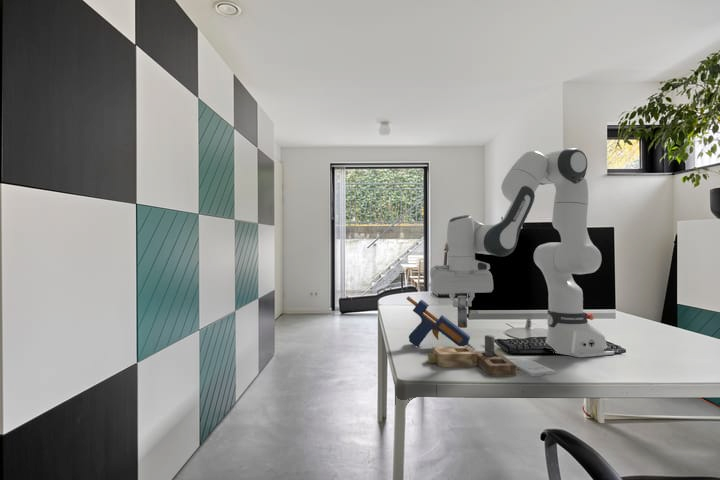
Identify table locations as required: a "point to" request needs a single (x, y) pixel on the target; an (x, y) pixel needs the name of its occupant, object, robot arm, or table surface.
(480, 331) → the table surface
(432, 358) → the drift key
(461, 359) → the socket block
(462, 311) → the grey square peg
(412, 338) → the glue gun
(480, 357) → the bit rack
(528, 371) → the external hard drive
